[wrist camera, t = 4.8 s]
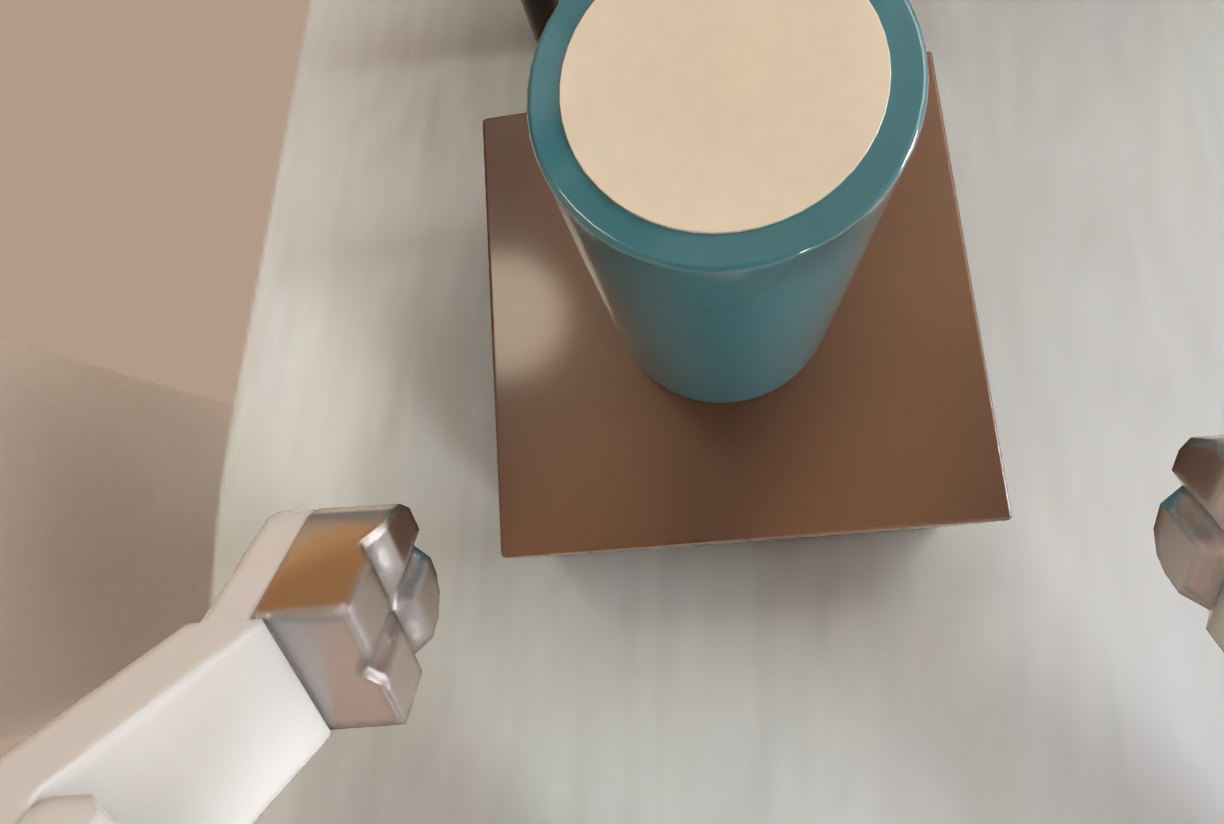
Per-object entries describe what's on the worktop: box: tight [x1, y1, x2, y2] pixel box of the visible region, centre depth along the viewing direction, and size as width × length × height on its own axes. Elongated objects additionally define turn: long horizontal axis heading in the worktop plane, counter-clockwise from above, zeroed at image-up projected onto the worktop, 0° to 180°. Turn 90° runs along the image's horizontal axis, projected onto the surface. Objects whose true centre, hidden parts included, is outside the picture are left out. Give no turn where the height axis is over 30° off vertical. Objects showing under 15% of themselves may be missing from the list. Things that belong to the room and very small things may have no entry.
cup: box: [527, 0, 929, 403], centre depth 14 cm, size 5×5×9 cm
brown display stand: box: [483, 52, 1012, 558], centre depth 22 cm, size 12×12×6 cm
